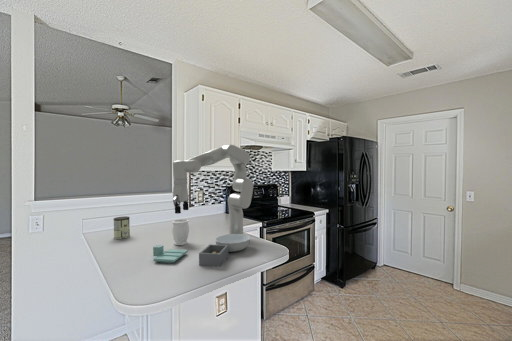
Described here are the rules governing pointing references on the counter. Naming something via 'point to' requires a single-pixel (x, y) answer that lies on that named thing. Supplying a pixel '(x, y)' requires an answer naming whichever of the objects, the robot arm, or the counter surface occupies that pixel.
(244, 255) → the counter surface
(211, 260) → the tub
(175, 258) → the lid
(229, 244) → the serving bowl
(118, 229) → the coffee can
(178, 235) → the jar
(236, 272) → the counter surface
